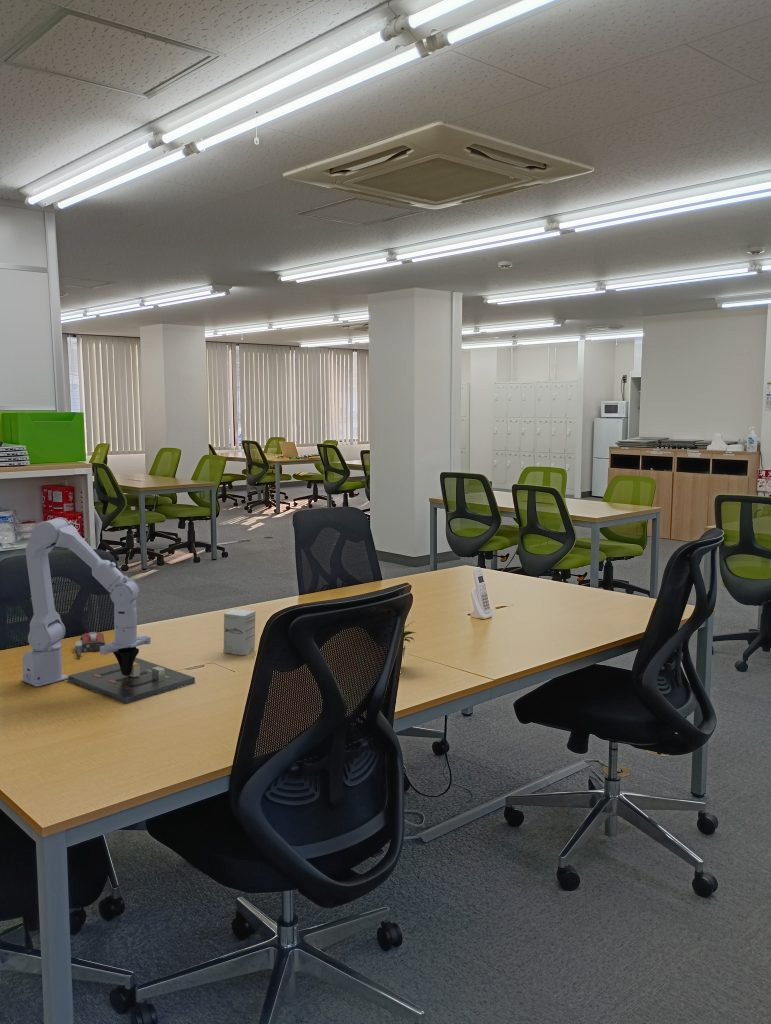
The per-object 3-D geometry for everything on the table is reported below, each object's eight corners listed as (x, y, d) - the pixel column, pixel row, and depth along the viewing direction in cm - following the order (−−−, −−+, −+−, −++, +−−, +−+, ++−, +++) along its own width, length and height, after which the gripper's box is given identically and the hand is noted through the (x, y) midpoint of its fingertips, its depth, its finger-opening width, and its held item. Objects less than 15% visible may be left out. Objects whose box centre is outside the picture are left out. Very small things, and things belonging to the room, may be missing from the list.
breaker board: (125, 703, 209) (125, 686, 209) (68, 680, 225) (67, 664, 224) (194, 682, 226) (194, 666, 226) (137, 662, 242) (136, 647, 242)
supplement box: (222, 653, 254) (223, 613, 252) (234, 647, 261) (234, 607, 259) (244, 656, 252) (244, 615, 250) (255, 649, 259) (256, 610, 257)
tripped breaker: (133, 677, 224) (133, 665, 224) (127, 674, 226) (126, 663, 226) (139, 675, 226) (139, 664, 225) (133, 673, 228) (133, 661, 227)
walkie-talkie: (74, 642, 262) (75, 660, 243) (74, 628, 261) (75, 646, 243) (103, 640, 265) (106, 658, 247) (103, 627, 265) (106, 644, 246)
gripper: (110, 633, 214) (111, 684, 216) (157, 623, 226) (157, 671, 227) (95, 628, 218) (95, 678, 220) (141, 618, 230) (141, 666, 231)
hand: (126, 674), depth 224 cm, fingers closed
